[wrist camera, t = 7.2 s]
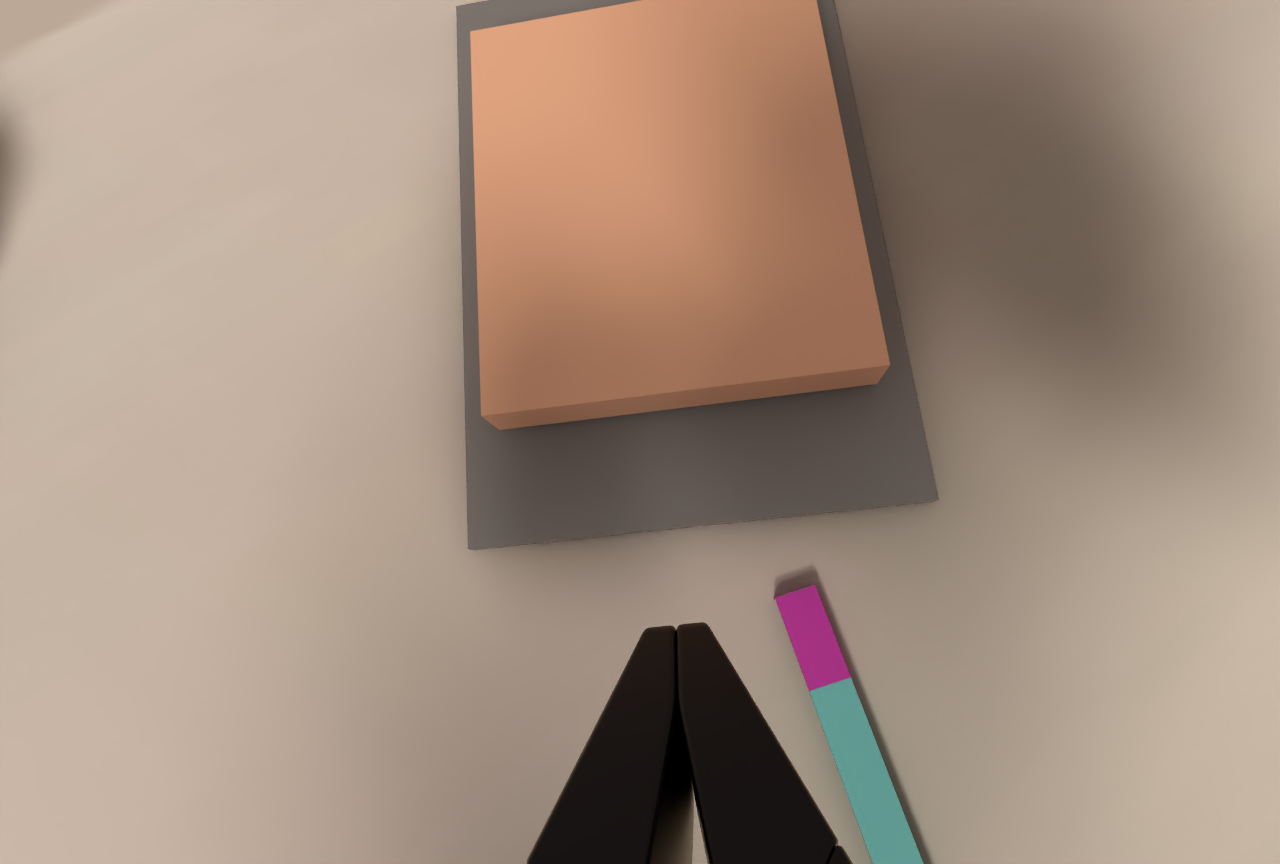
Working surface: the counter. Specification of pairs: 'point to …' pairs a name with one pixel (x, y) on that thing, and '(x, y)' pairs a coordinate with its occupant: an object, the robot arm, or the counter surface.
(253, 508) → the counter surface
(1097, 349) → the counter surface
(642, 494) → the rubber mat
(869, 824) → the squeegee
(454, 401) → the counter surface
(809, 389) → the ceramic tile
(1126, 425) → the counter surface
